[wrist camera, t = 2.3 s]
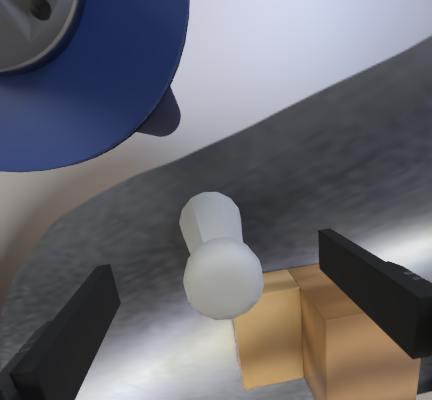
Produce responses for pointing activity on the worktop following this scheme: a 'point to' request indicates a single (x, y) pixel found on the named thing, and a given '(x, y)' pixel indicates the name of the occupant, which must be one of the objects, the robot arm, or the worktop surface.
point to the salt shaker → (218, 258)
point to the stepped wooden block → (319, 342)
